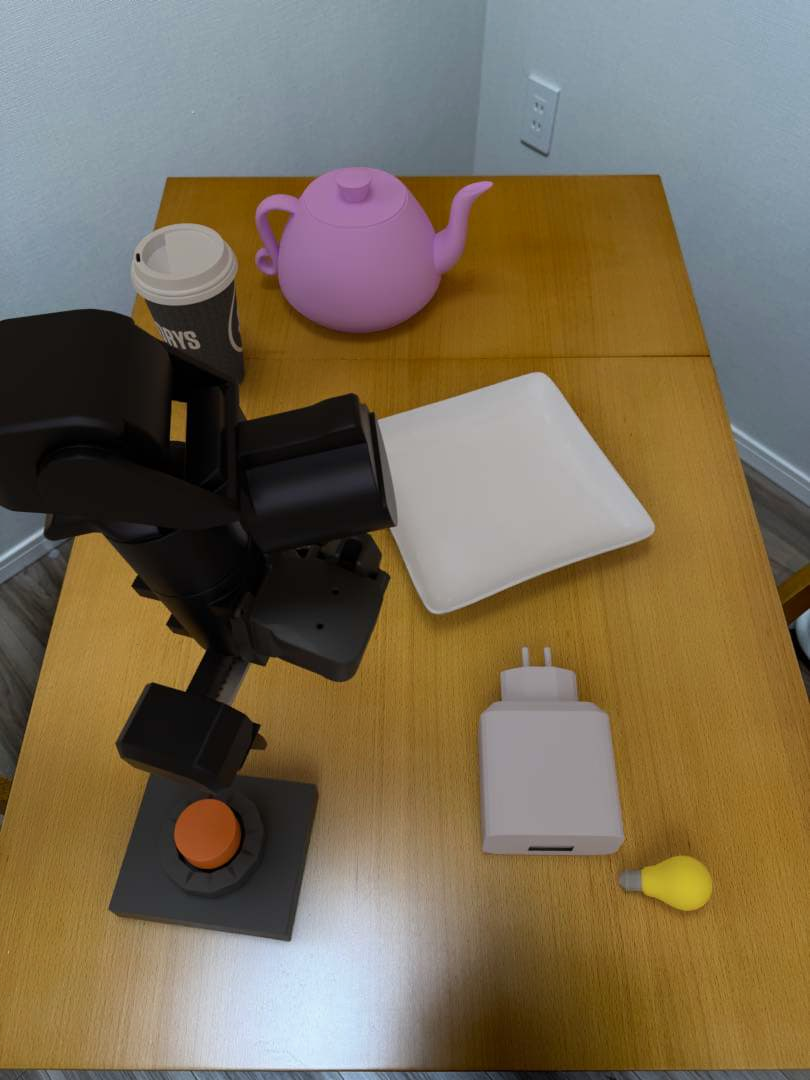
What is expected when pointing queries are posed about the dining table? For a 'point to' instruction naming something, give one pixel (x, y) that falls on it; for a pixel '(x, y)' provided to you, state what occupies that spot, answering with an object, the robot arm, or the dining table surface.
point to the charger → (547, 768)
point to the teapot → (361, 249)
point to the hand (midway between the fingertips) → (289, 678)
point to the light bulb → (672, 882)
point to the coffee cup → (192, 293)
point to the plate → (502, 491)
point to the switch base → (238, 885)
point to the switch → (207, 833)
